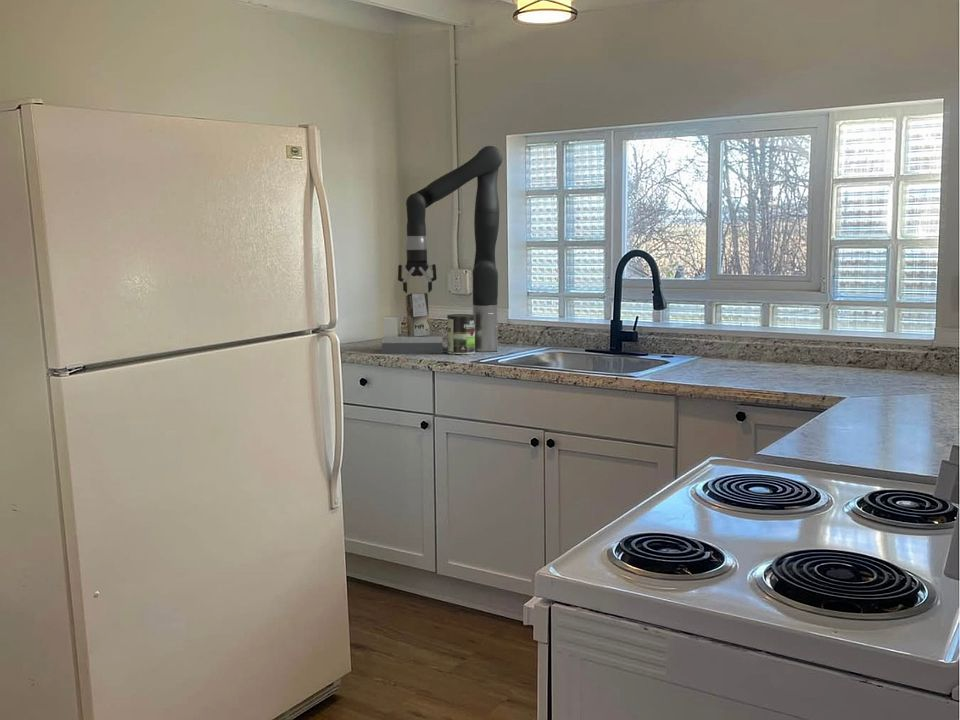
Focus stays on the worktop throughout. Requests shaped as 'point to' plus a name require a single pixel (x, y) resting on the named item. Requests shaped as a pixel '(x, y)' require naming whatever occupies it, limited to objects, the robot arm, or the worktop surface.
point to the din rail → (414, 338)
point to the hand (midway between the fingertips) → (417, 292)
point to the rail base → (412, 348)
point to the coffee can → (461, 334)
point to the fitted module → (391, 326)
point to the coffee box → (417, 315)
